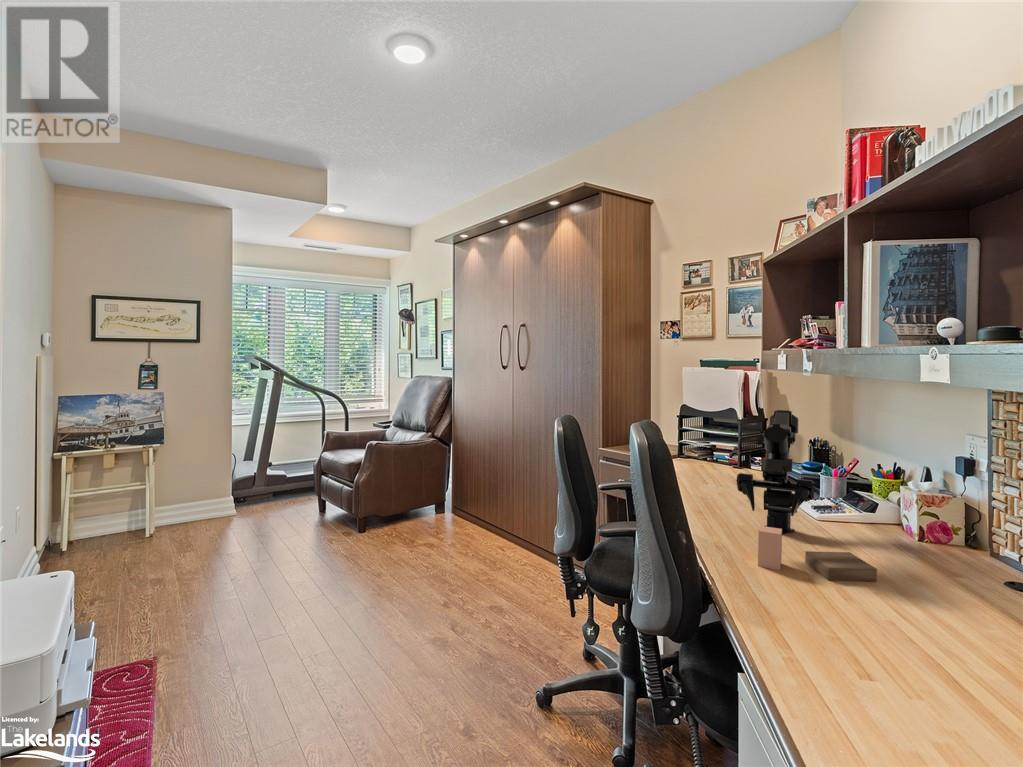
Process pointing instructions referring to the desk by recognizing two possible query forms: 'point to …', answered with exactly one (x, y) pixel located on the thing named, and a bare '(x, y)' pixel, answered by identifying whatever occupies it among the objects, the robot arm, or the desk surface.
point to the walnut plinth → (840, 566)
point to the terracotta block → (769, 547)
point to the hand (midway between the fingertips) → (772, 512)
